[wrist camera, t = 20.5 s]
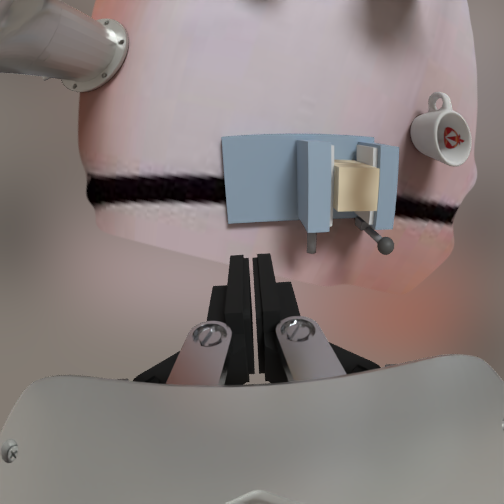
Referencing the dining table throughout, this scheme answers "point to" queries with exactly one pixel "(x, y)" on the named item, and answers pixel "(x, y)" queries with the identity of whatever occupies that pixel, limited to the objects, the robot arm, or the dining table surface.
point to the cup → (442, 133)
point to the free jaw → (315, 187)
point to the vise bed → (285, 179)
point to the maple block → (355, 186)
